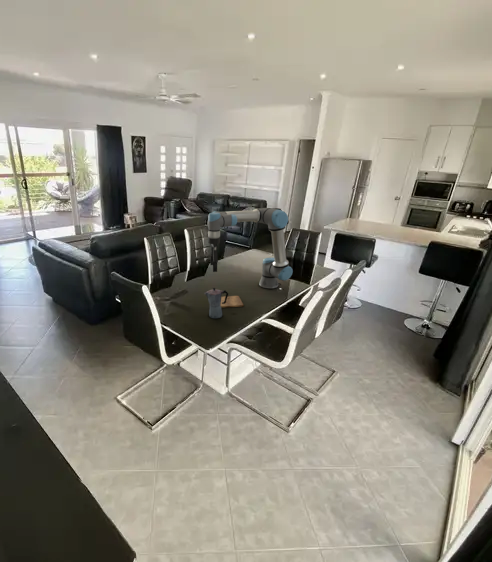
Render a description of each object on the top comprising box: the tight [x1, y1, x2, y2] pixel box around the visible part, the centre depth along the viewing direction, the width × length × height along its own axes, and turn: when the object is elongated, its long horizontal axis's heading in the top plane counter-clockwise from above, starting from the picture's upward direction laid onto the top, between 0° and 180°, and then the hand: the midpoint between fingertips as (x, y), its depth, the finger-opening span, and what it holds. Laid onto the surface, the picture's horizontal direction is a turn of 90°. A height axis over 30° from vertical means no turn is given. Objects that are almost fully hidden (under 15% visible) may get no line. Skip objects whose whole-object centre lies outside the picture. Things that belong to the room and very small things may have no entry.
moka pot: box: [204, 287, 229, 319], centre depth 210 cm, size 10×15×20 cm, turn 95°
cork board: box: [220, 295, 244, 309], centre depth 232 cm, size 18×16×1 cm
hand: (213, 268), depth 214 cm, fingers open, 13 cm apart
